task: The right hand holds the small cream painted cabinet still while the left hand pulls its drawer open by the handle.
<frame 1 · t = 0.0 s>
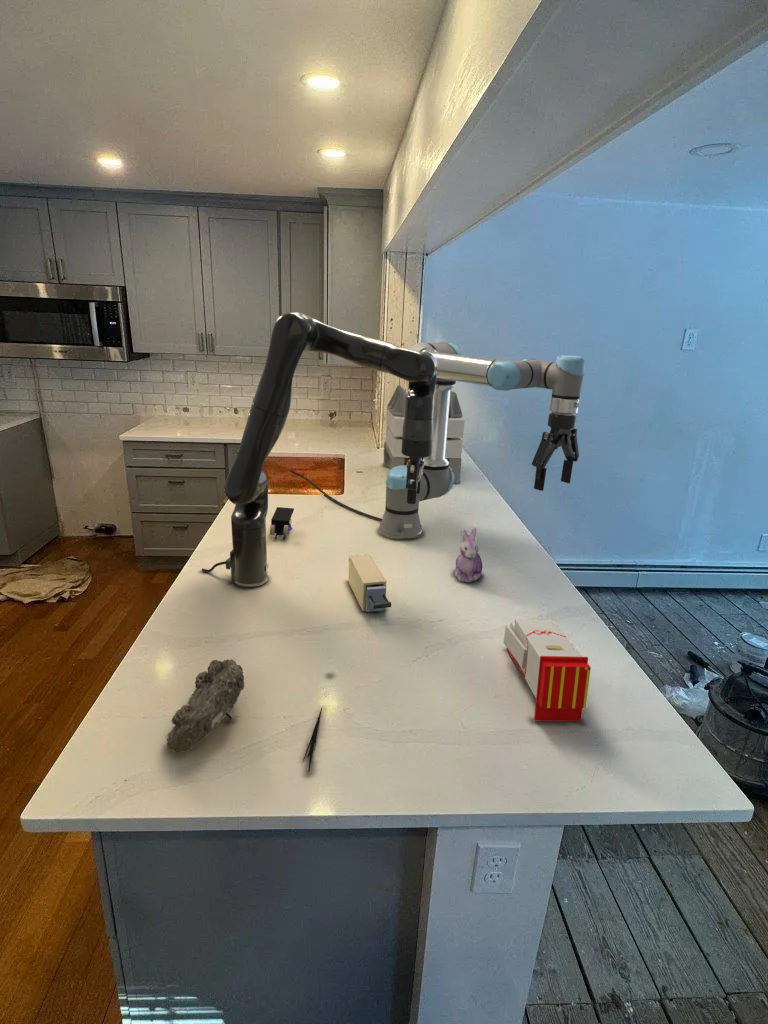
left hand: (413, 498, 145), 29 cm above the counter, tool pointing down, fingers open, 8 cm apart
right hand: (552, 485, 166), 28 cm above the counter, tool pointing down, fingers open, 13 cm apart
cabinet: (365, 594, 157), on the counter
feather: (319, 719, 109), on the counter
toy: (537, 679, 124), on the counter
fossil: (212, 717, 108), on the counter
drawer: (371, 590, 150), point 4 cm above the counter, slide at 0.8 cm
grey slatted crate: (419, 473, 275), on the counter
figurine: (468, 576, 170), on the counter
figurine character: (282, 534, 195), on the counter
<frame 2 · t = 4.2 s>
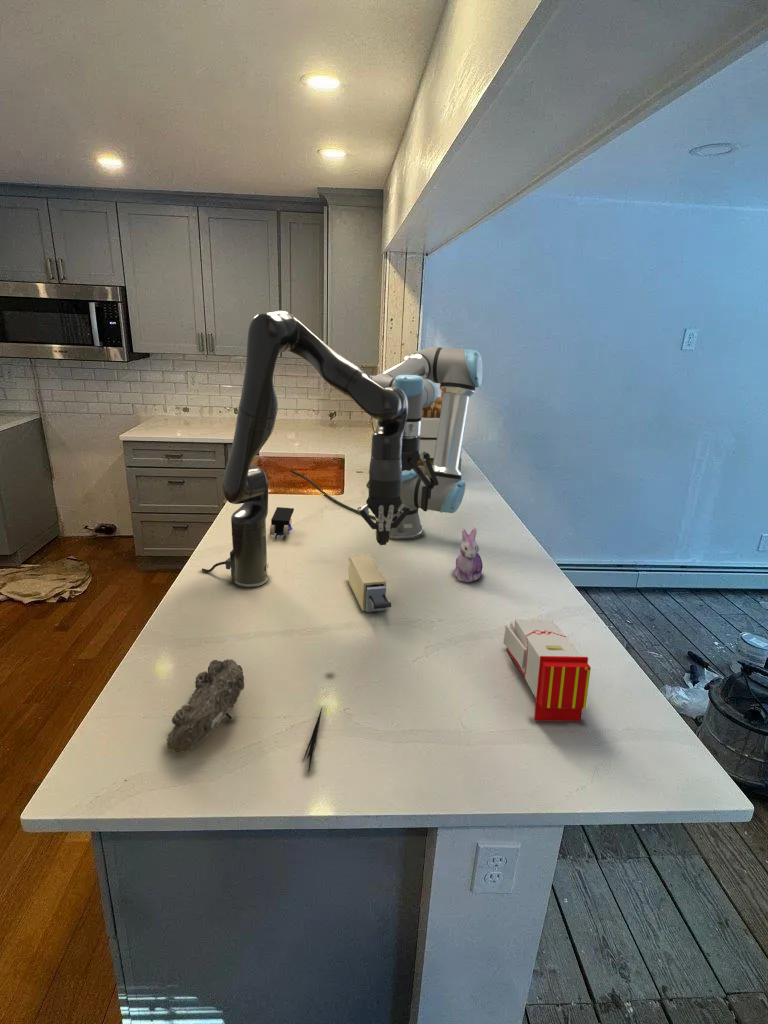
left hand: (382, 543, 137), 21 cm above the counter, tool pointing down, fingers closed
right hand: (401, 511, 156), 22 cm above the counter, tool pointing down, fingers open, 13 cm apart
nothing on the counter moved.
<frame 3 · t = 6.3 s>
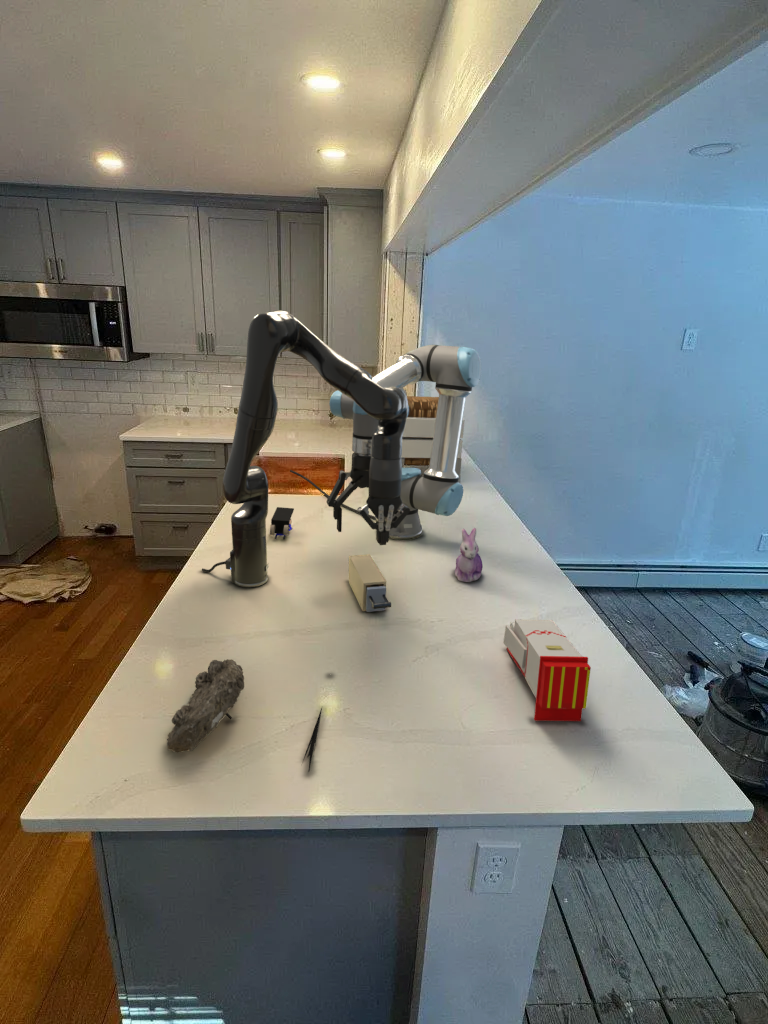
left hand: (382, 543, 137), 21 cm above the counter, tool pointing down, fingers closed
right hand: (363, 528, 155), 18 cm above the counter, tool pointing down, fingers open, 13 cm apart
nothing on the counter moved.
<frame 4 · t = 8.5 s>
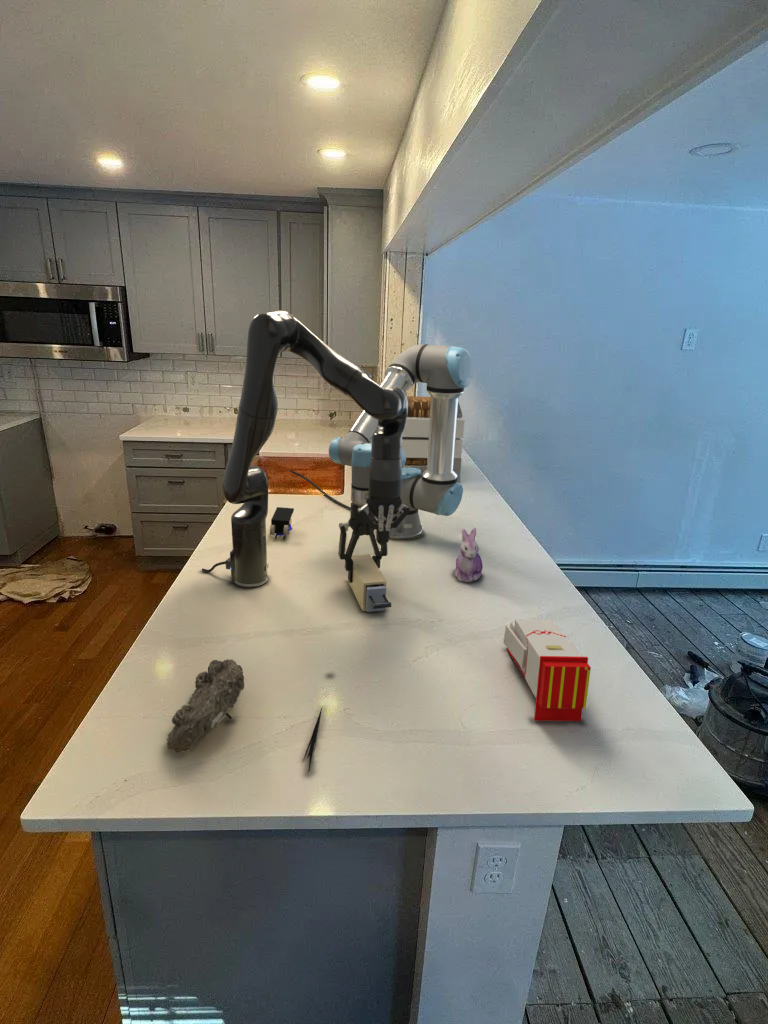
left hand: (382, 543, 137), 21 cm above the counter, tool pointing down, fingers closed
right hand: (362, 579, 160), 2 cm above the counter, tool pointing down, fingers closed on cabinet, 6 cm apart
cabinet: (365, 594, 157), on the counter, touching right hand
everything else where it was.
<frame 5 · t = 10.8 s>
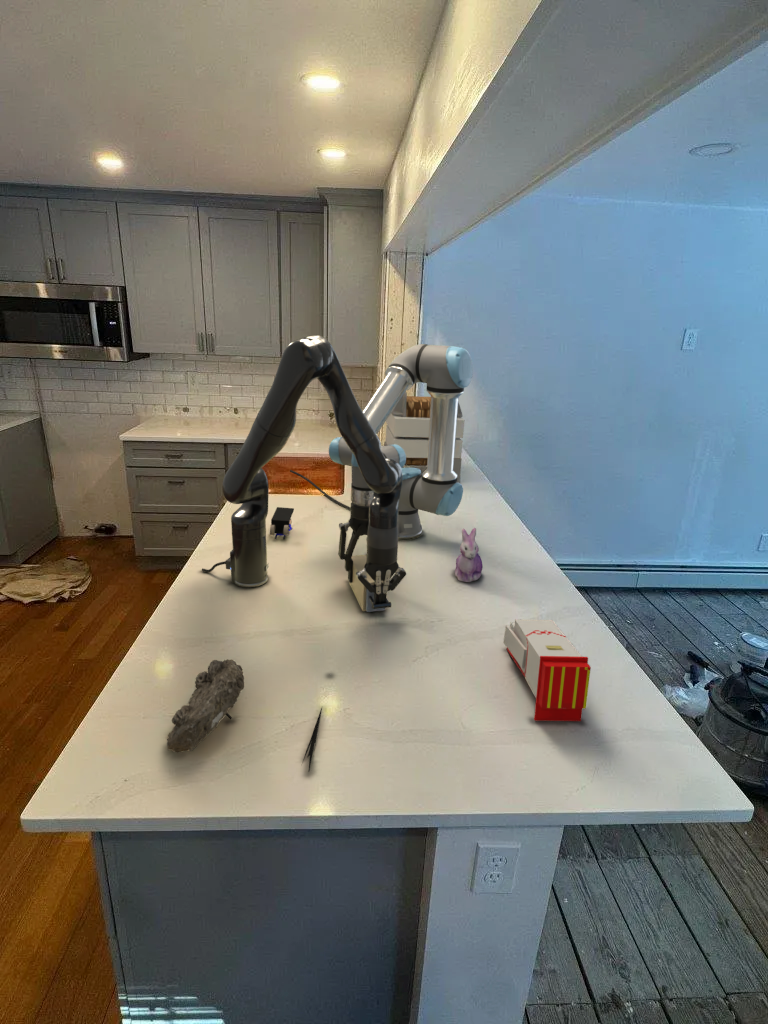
left hand: (380, 605, 143), 4 cm above the counter, tool pointing down, fingers closed
right hand: (362, 579, 160), 2 cm above the counter, tool pointing down, fingers closed on cabinet, 6 cm apart
cabinet: (365, 594, 157), on the counter, touching right hand
drawer: (371, 590, 150), point 4 cm above the counter, slide at 0.8 cm, touching left hand
everything else where it was.
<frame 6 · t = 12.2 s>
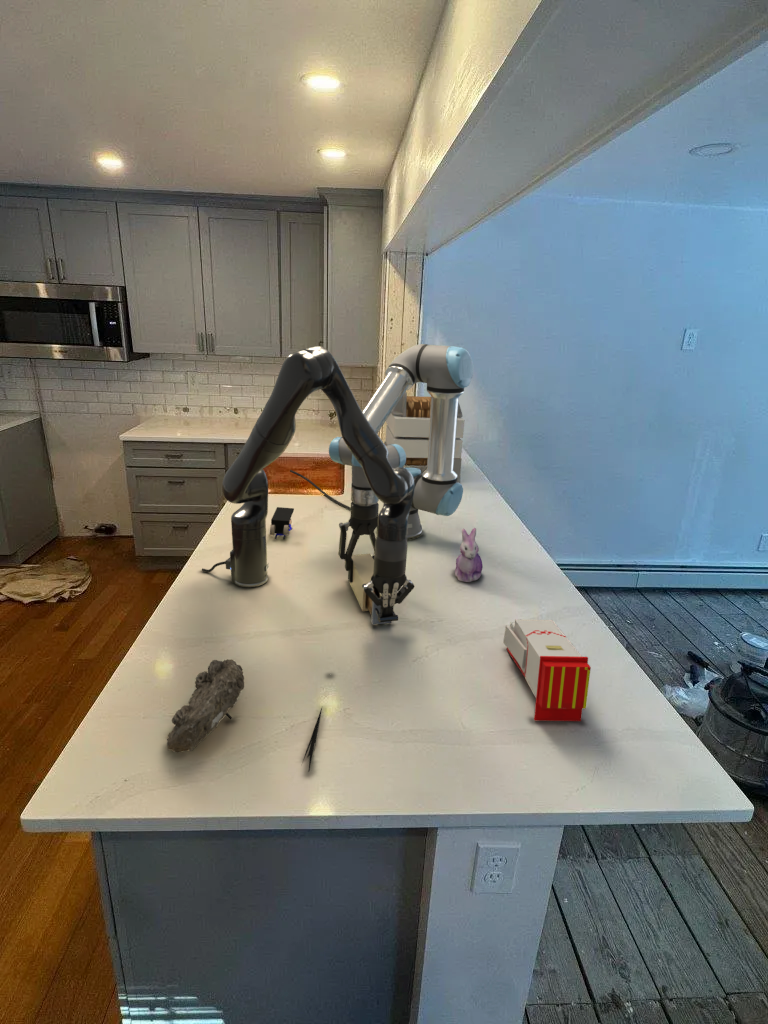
left hand: (386, 618, 137), 4 cm above the counter, tool pointing down, fingers closed
right hand: (362, 579, 160), 2 cm above the counter, tool pointing down, fingers closed on cabinet, 6 cm apart
cabinet: (365, 594, 157), on the counter, touching right hand
drawer: (377, 601, 145), point 4 cm above the counter, slide at 6.8 cm, touching left hand
everything else where it was.
when the right hand's fingers open (2 cm above the counter, at t = 14.4 s): cabinet stays where it is, on the counter.
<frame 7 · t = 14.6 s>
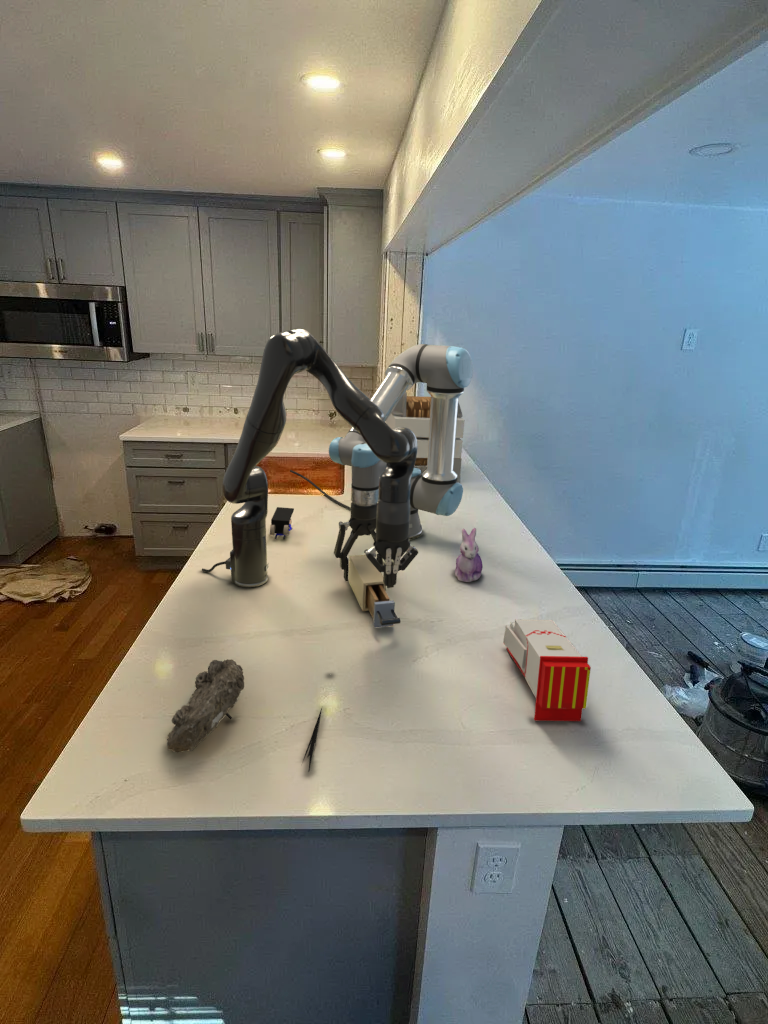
left hand: (389, 586, 133), 13 cm above the counter, tool pointing down, fingers closed
right hand: (362, 577, 160), 3 cm above the counter, tool pointing down, fingers open, 9 cm apart
cabinet: (365, 594, 157), on the counter
drawer: (378, 604, 143), point 4 cm above the counter, slide at 8.6 cm
everything else where it was.
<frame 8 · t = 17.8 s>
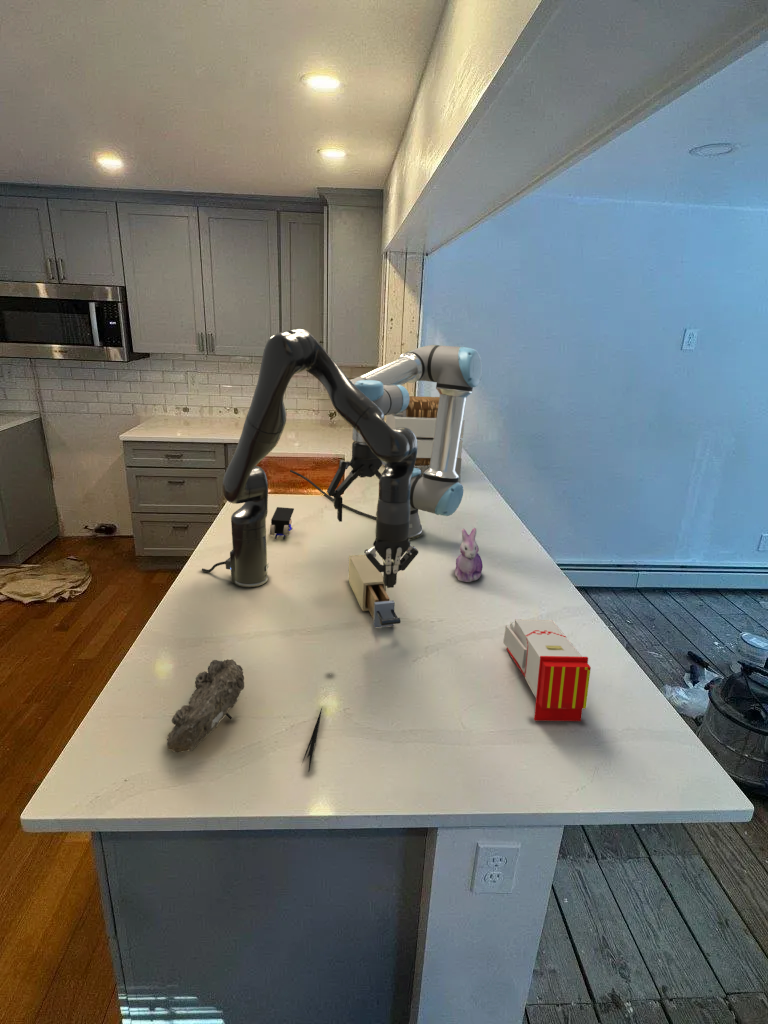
left hand: (389, 586, 133), 13 cm above the counter, tool pointing down, fingers closed
right hand: (364, 518, 154), 21 cm above the counter, tool pointing down, fingers open, 13 cm apart
nothing on the counter moved.
at the end: drawer slide at 8.6 cm; cabinet tilted 0°; cabinet never tilted more than 2° during the clip; cabinet moved 0.0 cm from its start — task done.
